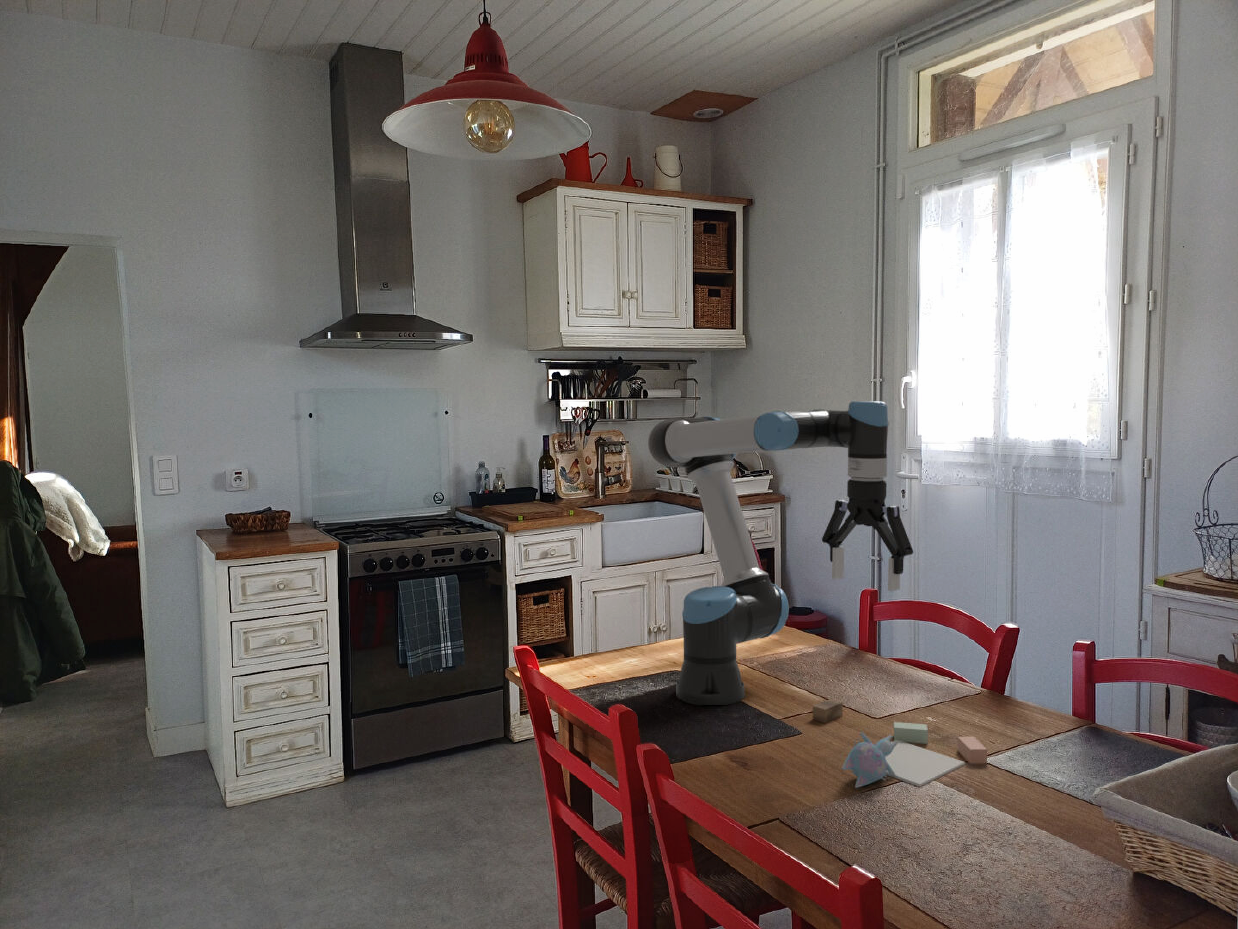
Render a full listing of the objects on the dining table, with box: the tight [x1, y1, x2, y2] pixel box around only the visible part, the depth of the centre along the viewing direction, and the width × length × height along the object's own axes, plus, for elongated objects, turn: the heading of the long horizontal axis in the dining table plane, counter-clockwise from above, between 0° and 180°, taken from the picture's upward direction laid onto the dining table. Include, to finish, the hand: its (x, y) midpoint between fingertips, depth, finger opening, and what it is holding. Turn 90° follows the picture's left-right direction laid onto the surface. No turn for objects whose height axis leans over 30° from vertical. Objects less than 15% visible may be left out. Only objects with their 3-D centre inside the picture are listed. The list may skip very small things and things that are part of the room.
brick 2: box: [893, 721, 929, 744], centre depth 171 cm, size 6×3×3 cm, turn 74°
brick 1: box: [812, 698, 843, 724], centre depth 184 cm, size 6×3×3 cm, turn 132°
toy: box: [841, 731, 898, 789], centre depth 154 cm, size 7×6×15 cm
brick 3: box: [957, 736, 988, 764], centre depth 162 cm, size 6×3×3 cm, turn 0°
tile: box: [885, 739, 966, 787], centre depth 160 cm, size 14×14×1 cm
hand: (865, 584), depth 180 cm, fingers open, 13 cm apart
